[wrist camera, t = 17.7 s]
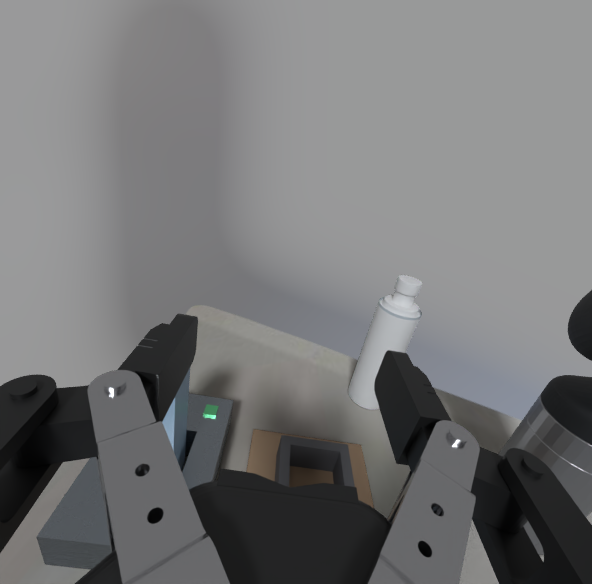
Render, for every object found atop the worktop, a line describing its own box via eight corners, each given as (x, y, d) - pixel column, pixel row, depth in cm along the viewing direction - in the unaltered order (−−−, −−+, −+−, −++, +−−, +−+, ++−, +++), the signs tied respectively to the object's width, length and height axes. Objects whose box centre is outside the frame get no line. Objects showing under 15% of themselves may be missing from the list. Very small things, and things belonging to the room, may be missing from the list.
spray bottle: (347, 379, 59) (388, 258, 48) (381, 387, 58) (430, 267, 48) (348, 405, 52) (396, 272, 42) (386, 414, 52) (443, 283, 42)
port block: (140, 409, 44) (139, 384, 42) (230, 422, 45) (233, 398, 43) (44, 564, 27) (35, 534, 25) (189, 580, 28) (192, 553, 26)
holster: (253, 432, 44) (257, 408, 42) (359, 447, 45) (368, 426, 43) (229, 571, 29) (234, 545, 27) (388, 589, 31) (403, 565, 29)
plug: (149, 457, 38) (146, 330, 30) (184, 462, 38) (191, 337, 30) (131, 494, 34) (123, 358, 26) (171, 498, 34) (176, 366, 26)
